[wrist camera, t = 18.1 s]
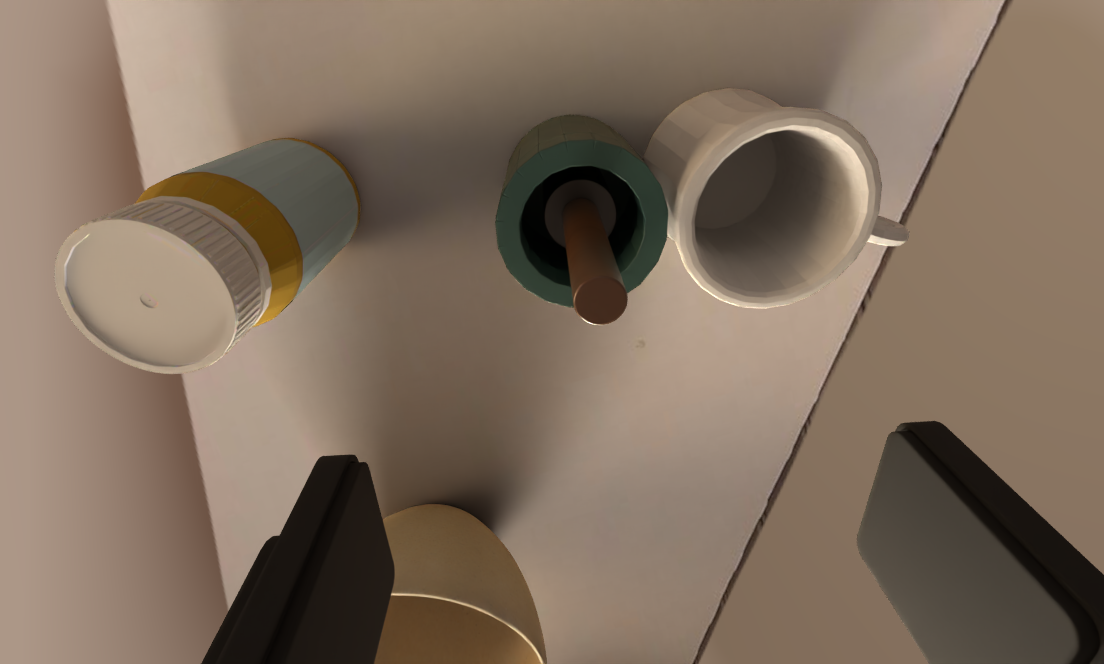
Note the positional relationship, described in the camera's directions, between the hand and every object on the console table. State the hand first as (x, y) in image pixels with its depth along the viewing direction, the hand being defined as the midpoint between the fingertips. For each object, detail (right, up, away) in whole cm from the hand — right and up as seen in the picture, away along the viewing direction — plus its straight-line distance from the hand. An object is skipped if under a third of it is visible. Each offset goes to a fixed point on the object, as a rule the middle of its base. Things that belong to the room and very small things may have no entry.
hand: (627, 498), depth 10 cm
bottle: (-16, +11, +23) cm, 30 cm away
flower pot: (-11, -14, +37) cm, 41 cm away
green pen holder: (0, +12, +23) cm, 26 cm away
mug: (+10, +12, +23) cm, 28 cm away
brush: (0, +11, +22) cm, 25 cm away
